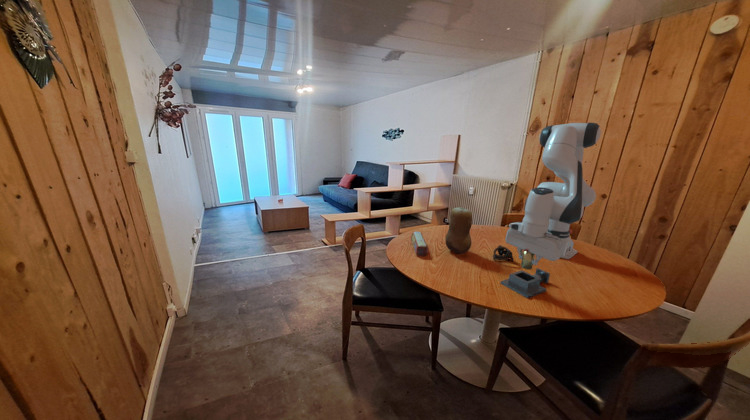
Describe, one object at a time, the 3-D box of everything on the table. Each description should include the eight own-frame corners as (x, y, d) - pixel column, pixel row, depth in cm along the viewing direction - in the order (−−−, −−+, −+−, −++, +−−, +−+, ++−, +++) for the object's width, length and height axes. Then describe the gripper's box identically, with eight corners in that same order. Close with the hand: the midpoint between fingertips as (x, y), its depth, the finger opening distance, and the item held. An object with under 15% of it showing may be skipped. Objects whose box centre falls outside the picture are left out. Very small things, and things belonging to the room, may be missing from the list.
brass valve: (524, 264, 103) (528, 245, 101) (534, 268, 100) (538, 249, 98) (517, 266, 101) (521, 247, 99) (526, 270, 98) (530, 251, 95)
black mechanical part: (518, 265, 123) (514, 253, 120) (498, 271, 126) (494, 259, 122) (508, 250, 133) (504, 239, 130) (490, 255, 136) (486, 244, 132)
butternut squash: (472, 250, 138) (478, 207, 131) (466, 259, 127) (473, 213, 120) (447, 245, 145) (452, 204, 138) (440, 253, 134) (445, 209, 127)
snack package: (427, 257, 129) (428, 245, 128) (415, 256, 130) (416, 244, 128) (421, 241, 150) (422, 231, 148) (410, 241, 150) (411, 230, 148)
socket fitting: (528, 273, 114) (530, 264, 113) (556, 287, 104) (558, 276, 102) (500, 283, 106) (502, 272, 104) (527, 298, 95) (530, 287, 94)
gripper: (568, 237, 89) (559, 271, 92) (515, 221, 106) (510, 250, 110) (558, 239, 86) (550, 274, 90) (505, 222, 104) (500, 253, 107)
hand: (527, 261), depth 100 cm, fingers closed on brass valve, 4 cm apart
